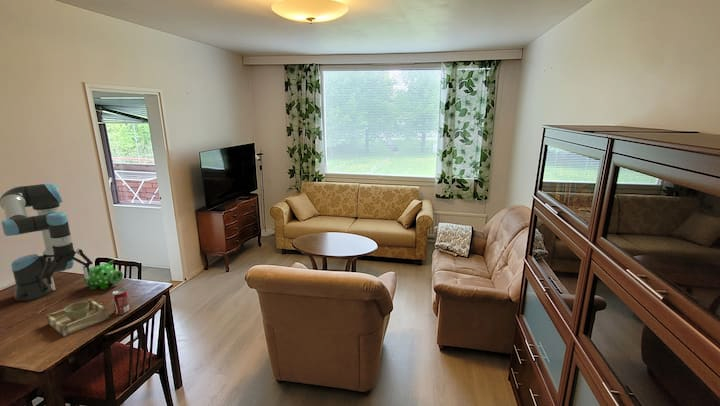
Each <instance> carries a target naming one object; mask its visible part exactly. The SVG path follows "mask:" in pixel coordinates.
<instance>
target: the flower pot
mask: <svg viewBox="0 0 720 406" xmlns="http://www.w3.org/2000/svg"><path fill="white" fill-rule="evenodd" d="M63 309H64V312H65V314H66V315H67V316H68V317H69V318H70V319H71V320H72V321H77V320H79V319H82V318H84V317H86V315H87V313H88V310H89V303H88V302H84V301H78V302H74V303H71V304H69V305H67V306H66V307H64V308H63Z"/></svg>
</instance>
